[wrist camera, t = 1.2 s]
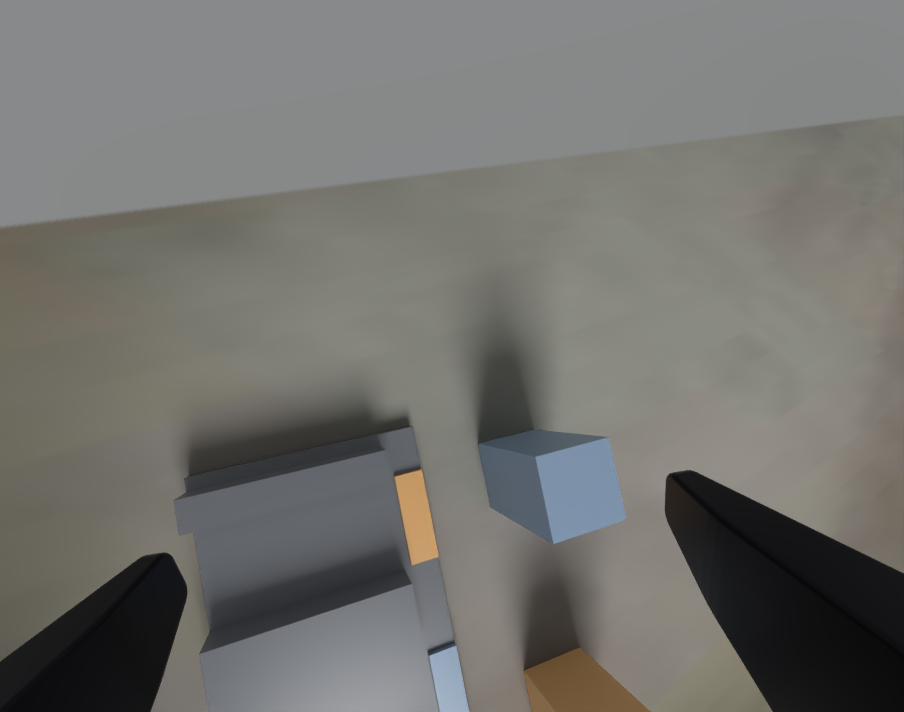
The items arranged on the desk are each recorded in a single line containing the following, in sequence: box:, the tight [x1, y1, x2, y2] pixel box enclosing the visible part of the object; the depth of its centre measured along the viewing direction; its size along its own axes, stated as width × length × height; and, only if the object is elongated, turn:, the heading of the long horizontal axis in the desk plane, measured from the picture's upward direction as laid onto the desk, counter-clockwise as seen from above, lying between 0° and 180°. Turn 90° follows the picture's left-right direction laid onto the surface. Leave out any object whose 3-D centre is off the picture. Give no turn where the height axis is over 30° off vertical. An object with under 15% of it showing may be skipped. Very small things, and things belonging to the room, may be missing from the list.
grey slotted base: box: [174, 426, 469, 712], centre depth 24 cm, size 20×12×3 cm, turn 12°
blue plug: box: [478, 429, 627, 544], centre depth 25 cm, size 4×4×8 cm
